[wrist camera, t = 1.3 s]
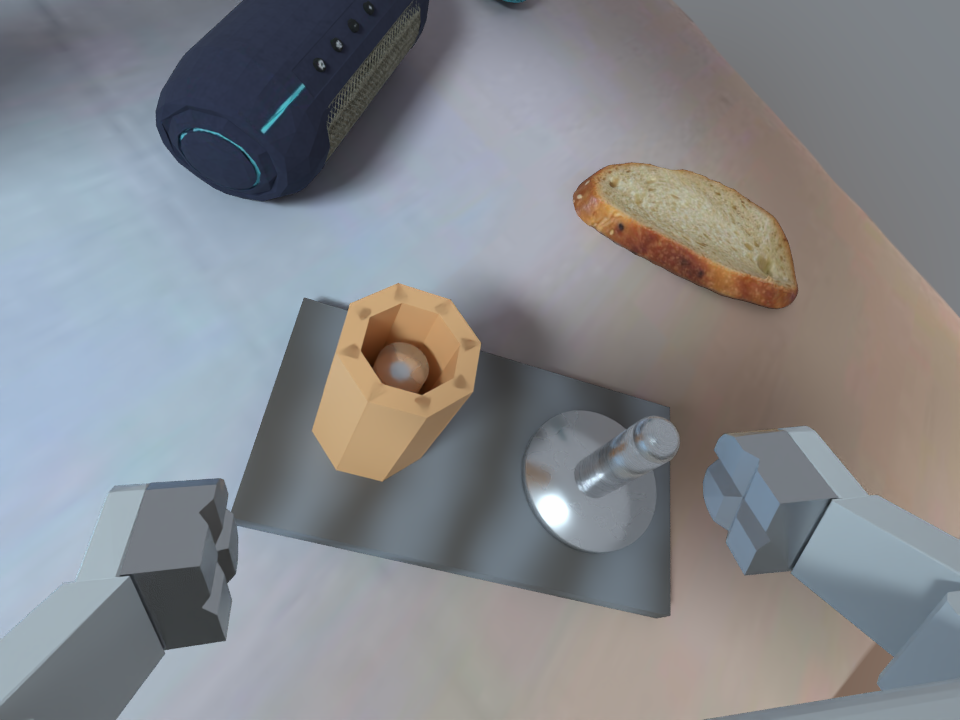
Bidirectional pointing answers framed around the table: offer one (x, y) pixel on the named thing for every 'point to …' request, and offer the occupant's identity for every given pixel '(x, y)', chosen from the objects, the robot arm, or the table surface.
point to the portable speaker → (281, 89)
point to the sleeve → (388, 410)
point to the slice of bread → (692, 230)
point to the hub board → (479, 478)
